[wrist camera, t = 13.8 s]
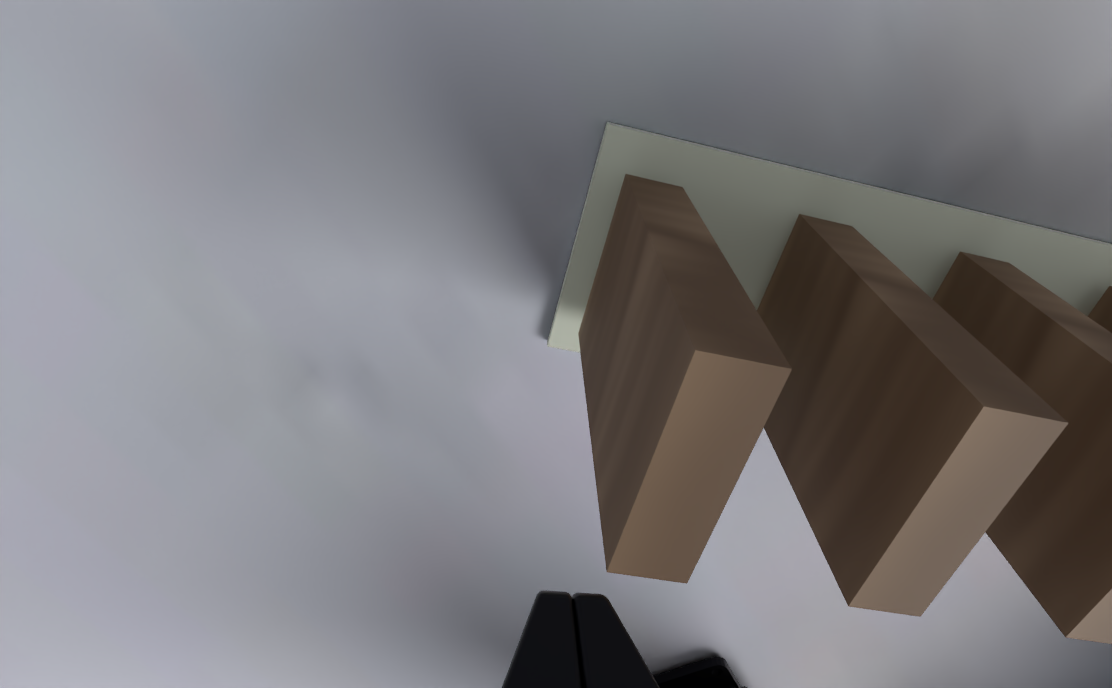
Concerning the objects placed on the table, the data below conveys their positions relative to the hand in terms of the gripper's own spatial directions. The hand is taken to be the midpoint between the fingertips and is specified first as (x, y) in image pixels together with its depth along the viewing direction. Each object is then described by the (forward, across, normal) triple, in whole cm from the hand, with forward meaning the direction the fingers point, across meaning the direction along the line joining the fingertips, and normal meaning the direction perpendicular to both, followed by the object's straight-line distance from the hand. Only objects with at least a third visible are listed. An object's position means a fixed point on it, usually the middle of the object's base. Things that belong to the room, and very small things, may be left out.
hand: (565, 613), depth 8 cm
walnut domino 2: (+12, -7, +1) cm, 14 cm away
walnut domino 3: (+12, -12, +2) cm, 18 cm away
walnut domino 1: (+12, -2, +1) cm, 13 cm away
